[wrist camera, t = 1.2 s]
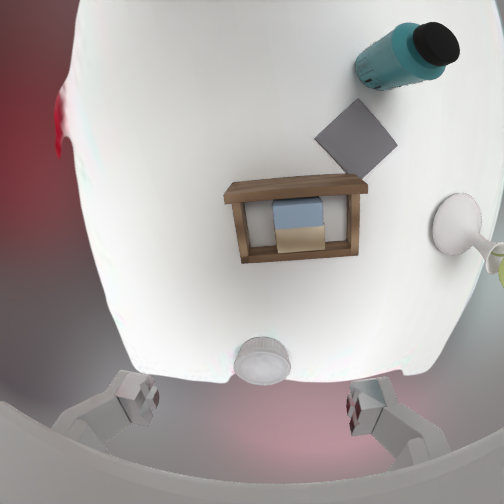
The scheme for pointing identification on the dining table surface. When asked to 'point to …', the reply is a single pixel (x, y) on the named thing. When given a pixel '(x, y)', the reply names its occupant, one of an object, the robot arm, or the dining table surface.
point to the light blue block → (298, 212)
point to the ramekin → (262, 362)
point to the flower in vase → (466, 232)
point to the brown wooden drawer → (295, 189)
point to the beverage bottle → (407, 56)
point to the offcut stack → (300, 239)
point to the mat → (356, 140)
